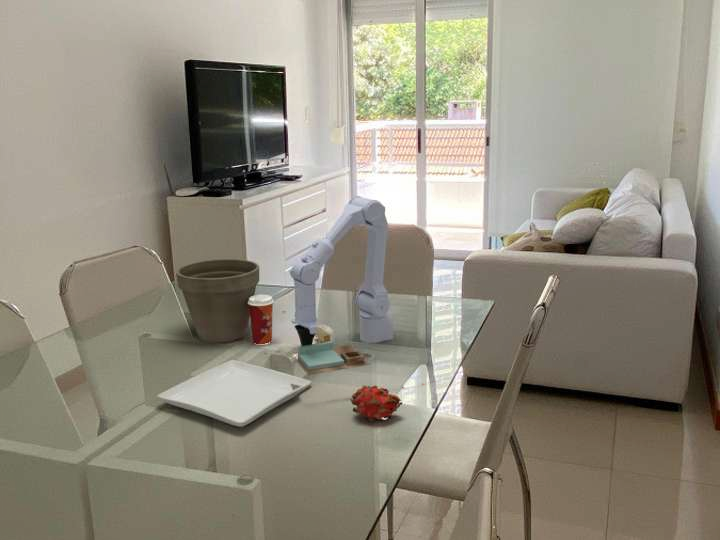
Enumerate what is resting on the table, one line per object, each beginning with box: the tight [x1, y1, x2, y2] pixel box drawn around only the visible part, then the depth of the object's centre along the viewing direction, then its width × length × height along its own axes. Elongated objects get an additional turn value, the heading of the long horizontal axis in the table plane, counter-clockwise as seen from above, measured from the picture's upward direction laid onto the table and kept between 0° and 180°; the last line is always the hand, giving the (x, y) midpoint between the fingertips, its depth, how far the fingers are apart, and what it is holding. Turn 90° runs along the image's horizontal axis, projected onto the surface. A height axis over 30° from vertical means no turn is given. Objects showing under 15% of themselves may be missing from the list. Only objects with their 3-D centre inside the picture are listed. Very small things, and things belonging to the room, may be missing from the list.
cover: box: [297, 340, 344, 370], centre depth 191 cm, size 10×10×3 cm
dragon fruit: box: [350, 385, 403, 422], centre depth 162 cm, size 8×8×12 cm
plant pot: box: [175, 258, 260, 344], centre depth 214 cm, size 25×25×22 cm
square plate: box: [156, 359, 313, 428], centre depth 172 cm, size 27×27×4 cm
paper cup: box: [248, 294, 275, 344], centre depth 209 cm, size 8×8×14 cm
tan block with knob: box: [314, 327, 331, 344], centre depth 205 cm, size 7×2×5 cm, turn 28°
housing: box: [296, 344, 372, 376], centre depth 193 cm, size 18×16×4 cm
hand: (306, 349), depth 196 cm, fingers closed
